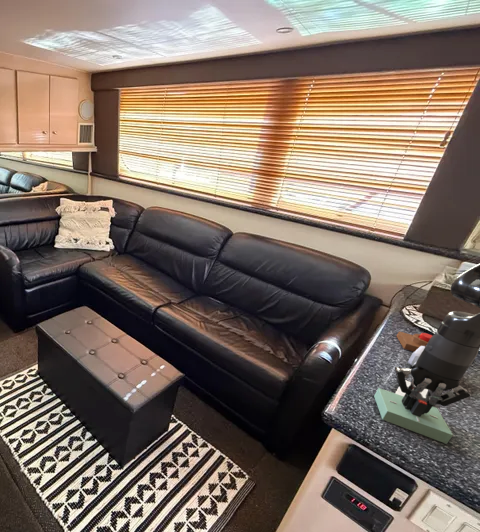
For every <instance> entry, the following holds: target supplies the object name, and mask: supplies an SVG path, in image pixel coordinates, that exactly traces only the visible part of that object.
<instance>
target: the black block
mask: <svg viewBox="0 0 480 532" xmlns="http://www.w3.org/2000/svg"><path fill="white" fill-rule="evenodd" d="M415 399H416V400H415V401H414V403H413V404H412V406H411V407H410V411H411V413H412V414H413V415H416V416H419V417H421V415H422V414H423V412H424V411H425V409H426V408H427V406H428V405H427V403H426V402H425V400H424V398H423V396H422V395H421V393H419V394H418V395H417V396H416V397H415Z"/></svg>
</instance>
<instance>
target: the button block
mask: <svg viewBox="0 0 480 532" xmlns="http://www.w3.org/2000/svg"><path fill="white" fill-rule="evenodd" d="M420 335H421V333H413V334H412V333H411V334H410V333H407V332H403V331H400V330H399V331H398V332H397V334H396V338H397V340H398V341H399V343H400V345H401V347H402V348H403V350H407V351H410V352H412V353H414V352H415V351H416V350H417V349H418V348H419V347H420V346H425V347H426V345H427V343H428V342H427V341H424V340H422V339H420V338H419V336H420Z"/></svg>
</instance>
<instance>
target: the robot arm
mask: <svg viewBox="0 0 480 532" xmlns="http://www.w3.org/2000/svg"><path fill="white" fill-rule="evenodd" d="M450 294H451V295H452V296H453V297H454V298H455V299H457V300H458V301H461V302H463V303H467V304H470V305H471V306H474V307H476V308H479V309H480V263H478V264H476V265H475V266H472V267H471V268H469V269H467V270H465V271H464V272H462V273H461V274H459V275H458V276H457V277H456V278H455V279H454V280H453V281H452V283H451V285H450ZM479 351H480V312H478V313H476V314H473V313H469V312H465V311H459V310H454V311H453V310H452V311H449V312H448V313H446V315H445V317H444V318H443V319H442V321H441V323H440V324H439V327H438V328H437V329H436V331H435V333H434V334H432V337H431V338H430V340H429V342H428V343H427V345H426V347H425V348H424V350H423V351H422V353H421V355H420V356H419V358H418V360H417V362H416V364H415V365H413V366H412V365H410V367H409V368H402V367H400V366H395V367H394V371H395V375H396V380H397V384H398V387H400V389H401V391H402V392H403V393H406V394H405V395H404V397H403V399H402V404H403V405H404V408H406V409H410V407H411V406H412V404H413V403H414V401H415V400H416V399H415V397H416V396H417V395H418V394H419V393H421V392H422V391H423V390H424V389H427V390H428V392H427V394H426V398H424V400H425V402H426V403H427V405H428V406H427V408H426V409H425V411H424V412H423V414H424V413H428V412H429V411H430V409H431V408H432V407H434V406H435V405H440V406H442V407H447V406H450V405H453V404H455V403H457V402H460V401H462V400H466V399H468V398H469V397H471V394H470V392H469V391H468V390H467V388H466V387H464V386H461V385H460V381H461V379H462V378H463V377H464V375H465V374H466V372H467V371H468V369H469V368H470V366H471V365H472V364H473V363H474V362H475V359H476V358H477V356H478V354H479ZM409 375H411V377H412V380H411V381H410V382H411V385H410V386H409V387H407V385H406V381H405V380H406V379H408V378H409ZM443 392H444V393H443Z"/></svg>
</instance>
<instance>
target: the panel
mask: <svg viewBox="0 0 480 532" xmlns="http://www.w3.org/2000/svg"><path fill="white" fill-rule="evenodd" d="M395 393H396V392H393V391H390V390H386V389H384V388H380V387H378V388H377V390H376V392H375V394H374V395H373V397H374V401H375V403H376V406H377V409H378V411H379V413H380V414H379V415H380V417H381V420H383V421H386V422H388V423H389V424H393V425H396V426H398V427H401V428H404V429H406V430H408V431H411V432H414V433H417V434H419V435H422V436H424V437H426V438H430V439H432V440H435V441H437V442H439V443H443V444H445V445H447V444H448V443H449V442H450V440H451V439H452V437H453V436H454V434H453V432H452V431H451V429H450V427H449V425H448V424H447V422H446V421H445V419H444V417H443V415H442V414H441V412H440V411H439V409H438V408H437V407H436V406H432V408H431V409H430V411H429V412H428V413H424V414H422V415H421V417H419V416H416V415H413V414H412V413H411V411H410V409H406V408H404V405H403V404H402V399H403V397H404V396H401V395H398V394H395Z"/></svg>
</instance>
